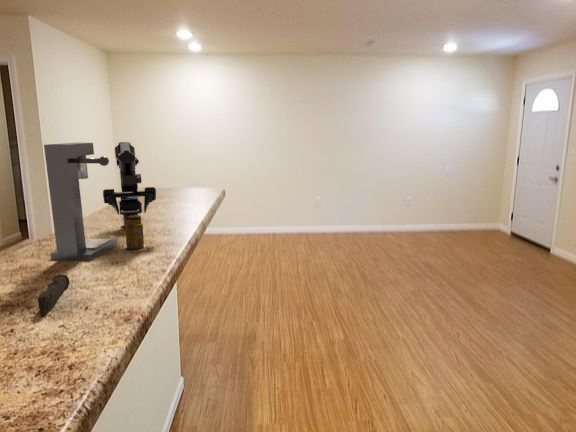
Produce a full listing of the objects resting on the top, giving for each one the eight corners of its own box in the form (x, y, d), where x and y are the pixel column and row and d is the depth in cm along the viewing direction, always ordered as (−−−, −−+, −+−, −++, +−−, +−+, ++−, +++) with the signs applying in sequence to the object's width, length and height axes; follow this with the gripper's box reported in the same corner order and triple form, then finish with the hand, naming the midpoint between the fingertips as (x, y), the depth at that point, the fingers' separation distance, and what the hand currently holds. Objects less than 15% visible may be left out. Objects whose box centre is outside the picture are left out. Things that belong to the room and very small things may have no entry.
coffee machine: (81, 243, 152) (70, 142, 144) (139, 245, 151) (131, 142, 142) (48, 260, 133) (33, 144, 125) (113, 262, 132) (102, 145, 123)
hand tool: (54, 287, 112) (52, 272, 111) (70, 286, 113) (68, 271, 112) (28, 319, 94) (25, 301, 93) (47, 317, 95) (44, 299, 94)
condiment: (144, 244, 152) (142, 213, 150) (147, 250, 145) (144, 218, 142) (123, 246, 149) (121, 215, 147) (125, 253, 142) (122, 220, 139)
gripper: (100, 167, 147) (102, 202, 140) (153, 166, 154) (158, 199, 147) (103, 186, 156) (105, 219, 148) (153, 183, 163) (157, 215, 156)
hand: (132, 213), depth 150 cm, fingers open, 9 cm apart
